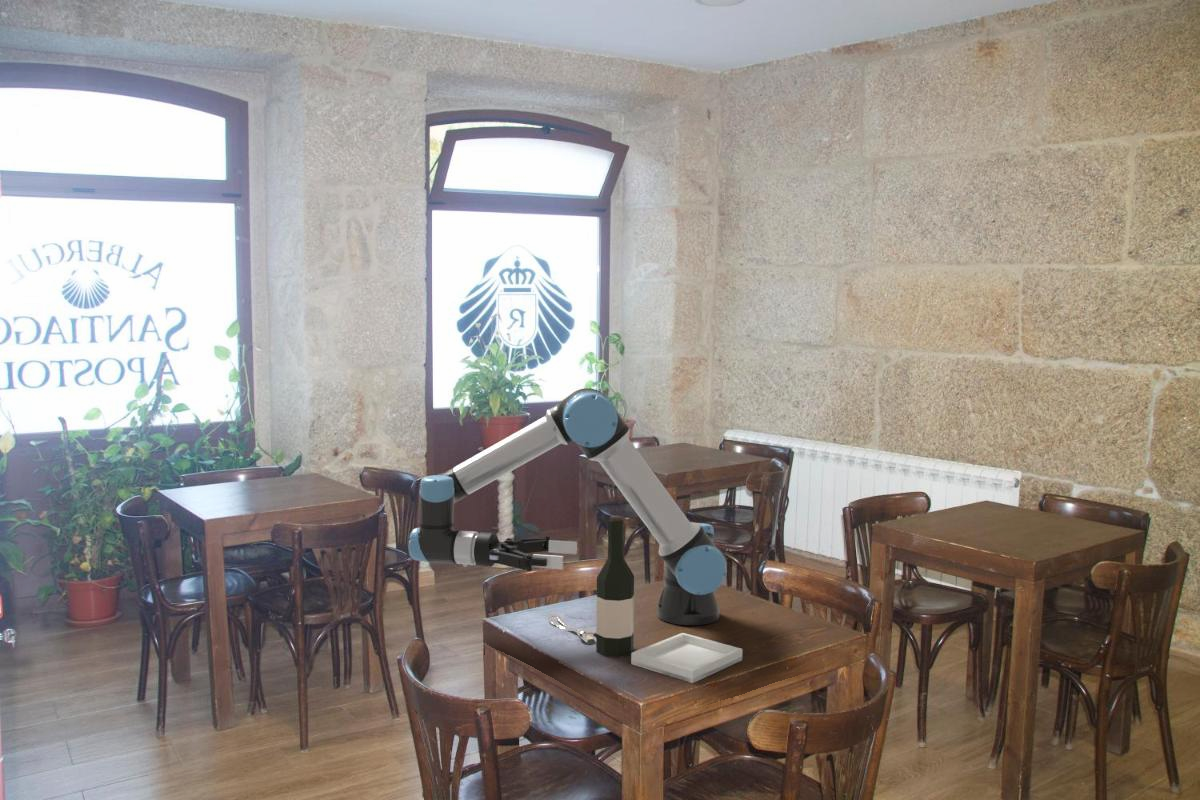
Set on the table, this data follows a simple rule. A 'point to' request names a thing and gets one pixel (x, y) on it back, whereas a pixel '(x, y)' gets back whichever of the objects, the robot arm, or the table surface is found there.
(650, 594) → the table surface
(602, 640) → the wine bottle
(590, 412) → the robot arm
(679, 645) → the serving tray
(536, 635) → the table surface
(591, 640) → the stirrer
